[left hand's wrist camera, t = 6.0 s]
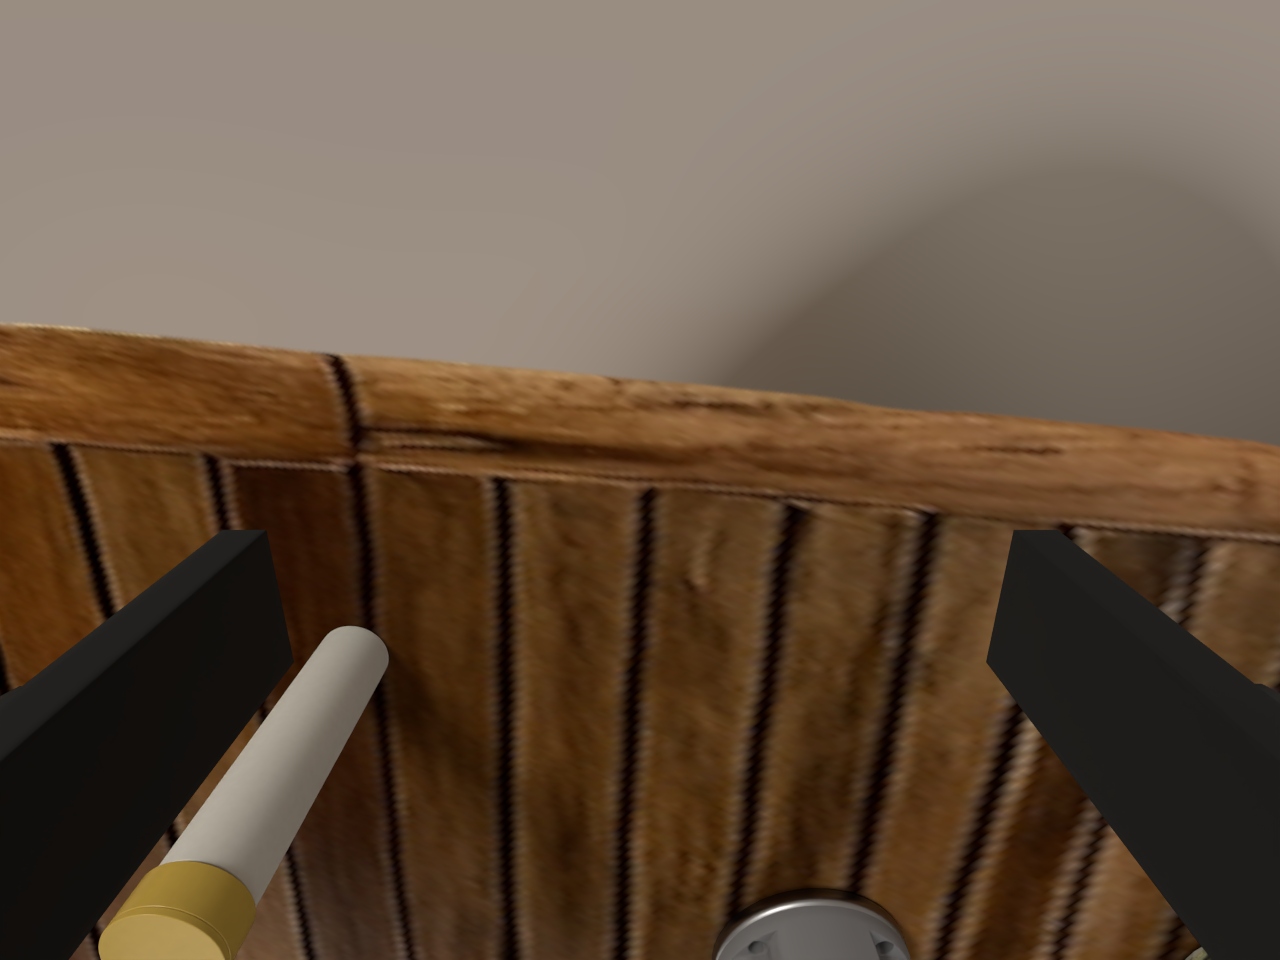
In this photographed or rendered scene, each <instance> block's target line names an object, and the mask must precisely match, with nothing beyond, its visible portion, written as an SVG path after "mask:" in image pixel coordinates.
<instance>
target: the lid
mask: <svg viewBox="0 0 1280 960" xmlns="http://www.w3.org/2000/svg"><path fill="white" fill-rule="evenodd" d="M255 916H256V906H255V902H254V899H253V897H252V895H251V893H250V892H249V890H248V889H247V888H246V886H245V885H244V884H243V883H242V882H241V881H239V880H238V879H237V878H236V877H234V876H233V875H231V874H230V873H228V872H226V871H224V870H222V869H220V868H218V867H215V866H212V865H209V864H205V863H201V862H195V861H175V862H169V863H166V864H162V865H160V866H158V867H156V868H154V869H152V870H151V871H150V872H148V873H147V874H146V875H145V876H144V877H143V879H142V880H141V881H140V883H139V884H138V885H137V887H136V888H135V890H134V891H133V892H132V894H131V895H130V896H129V898H128V899H127V900H126V902H125V903H124V904H123V906H122V907H121V908H120V910H119V911H118V913H117V914H116V915H115V917H114V918H113V919H112V921H111V922H110V924H109V925H108V926H107V927H106V929H105V930H104V932H103V933H102V935H101V938H100V941H99V954H100V958H101V960H234V958H235V956H236V955H237V953H238V951H239V949H240V947H241V945H242V943H243V942H244V940H245V938H246V936H247V934H248V932H249V930H250V929H251V927H252V925H253V923H254V920H255Z"/></svg>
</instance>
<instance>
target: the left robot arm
mask: <svg viewBox="0 0 1280 960" xmlns="http://www.w3.org/2000/svg"><path fill="white" fill-rule="evenodd" d="M293 662H294V661H293V656H292V651H291V646H290V641H289V637H288V632H287V627H286V622H285V618H284V613H283V608H282V603H281V599H280V594H279V589H278V584H277V579H276V575H275V570H274V565H273V560H272V556H271V551H270V546H269V541H268V536H267V532H266V530H222V531H221V532H219V533H218V534H217V535H216V536H214V537H213V538H212V539H210V540H209V541H208V542H207V543H205V544H204V545H203V546H201V547H200V548H199V549H198V550H196V551H195V552H194V553H192V554H191V555H190V556H189V557H187V558H186V559H185V560H183V561H182V562H181V563H180V564H178V565H177V566H176V567H175V568H173V569H172V570H171V571H169V572H168V573H167V574H166V575H164V576H163V577H162V578H160V579H159V580H158V581H157V582H155V583H154V584H153V585H151V586H150V587H149V588H148V589H146V590H145V591H144V592H142V593H141V594H140V595H139V596H137V597H136V598H135V599H134V600H132V601H131V602H130V603H128V604H127V605H126V606H125V607H123V608H122V609H121V610H119V611H118V612H117V613H116V614H114V615H113V616H112V617H110V618H109V619H108V620H107V621H105V622H104V623H103V624H101V625H100V626H99V627H98V628H96V629H95V630H94V631H92V632H91V633H90V634H89V635H87V636H86V637H85V638H84V639H82V640H81V641H80V642H78V643H77V644H76V645H75V646H73V647H72V648H71V649H69V650H68V651H67V652H66V653H64V654H63V655H62V656H60V657H59V658H58V659H57V660H55V661H54V662H53V663H51V664H50V665H49V666H48V667H46V668H45V669H44V670H42V671H41V672H40V673H39V674H37V675H36V676H35V677H34V678H32V679H31V680H30V681H28V682H27V683H26V684H25V685H23V686H19V687H17V688H15V689H13V690H11V691H10V692H8V693H6V694H4V695H2V696H0V960H69V958H70V957H71V956H72V954H73V953H74V952H75V950H76V949H77V948H78V947H79V945H80V944H81V943H82V941H83V940H84V939H85V937H86V936H87V935H88V933H89V932H90V931H91V929H92V928H93V927H94V925H95V924H96V923H97V921H98V920H99V919H100V917H101V916H102V915H103V913H104V912H105V911H106V910H107V908H108V907H109V906H110V904H111V903H112V902H113V900H114V899H115V898H116V896H117V895H118V894H119V892H120V891H121V890H122V888H123V887H124V886H125V884H126V883H127V882H128V880H129V879H130V878H131V876H132V875H133V874H134V873H135V871H136V870H137V869H138V867H139V866H140V865H141V863H142V862H143V861H144V859H145V858H146V857H147V855H148V854H149V853H150V851H151V850H152V849H153V847H154V846H155V845H156V843H157V842H158V841H159V839H160V838H161V837H162V836H163V834H164V833H165V832H166V830H167V829H168V828H169V826H170V825H171V824H172V822H173V821H174V820H175V818H176V817H177V816H178V814H179V813H180V812H181V810H182V809H183V808H184V806H185V805H186V804H187V802H188V801H189V800H190V798H191V797H192V796H193V795H194V793H195V792H196V791H197V789H198V788H199V787H200V785H201V784H202V783H203V781H204V780H205V779H206V777H207V776H208V775H209V773H210V772H211V771H212V769H213V768H214V767H215V765H216V764H217V763H218V761H219V760H220V759H221V758H222V756H223V755H224V754H225V752H226V751H227V750H228V748H229V747H230V746H231V744H232V743H233V742H234V740H235V739H236V738H237V736H238V735H239V734H240V732H241V731H242V730H243V728H244V727H245V726H246V724H247V723H248V722H249V721H250V719H251V718H252V717H253V715H254V714H255V713H256V711H257V710H258V709H259V707H260V706H261V705H262V703H263V702H264V701H265V699H266V698H267V697H268V695H269V694H270V693H271V691H272V690H273V689H274V687H275V686H276V685H277V684H278V682H279V681H280V680H281V678H282V677H283V676H284V674H285V673H286V672H287V670H288V669H289V668H290V666H291V665H292V664H293ZM986 662H987V664H988V665H989V666H990V668H991V669H992V670H993V672H994V673H995V674H996V676H997V677H998V678H999V680H1000V681H1001V682H1002V684H1003V685H1004V686H1005V687H1006V689H1007V690H1008V691H1009V693H1010V694H1011V695H1012V697H1013V698H1014V699H1015V701H1016V702H1017V703H1018V705H1019V706H1020V707H1021V709H1022V710H1023V711H1024V713H1025V714H1026V715H1027V717H1028V718H1029V719H1030V721H1031V722H1032V723H1033V724H1034V726H1035V727H1036V728H1037V730H1038V731H1039V732H1040V734H1041V735H1042V736H1043V738H1044V739H1045V740H1046V742H1047V743H1048V744H1049V746H1050V747H1051V748H1052V750H1053V751H1054V752H1055V754H1056V755H1057V756H1058V758H1059V759H1060V760H1061V761H1062V763H1063V764H1064V765H1065V767H1066V768H1067V769H1068V771H1069V772H1070V773H1071V775H1072V776H1073V777H1074V779H1075V780H1076V781H1077V783H1078V784H1079V785H1080V787H1081V788H1082V789H1083V791H1084V792H1085V793H1086V795H1087V796H1088V797H1089V798H1090V800H1091V801H1092V802H1093V804H1094V805H1095V806H1096V808H1097V809H1098V810H1099V812H1100V813H1101V814H1102V816H1103V817H1104V818H1105V820H1106V821H1107V822H1108V824H1109V825H1110V826H1111V828H1112V829H1113V830H1114V832H1115V833H1116V834H1117V836H1118V837H1119V838H1120V839H1121V841H1122V842H1123V843H1124V845H1125V846H1126V847H1127V849H1128V850H1129V851H1130V853H1131V854H1132V855H1133V857H1134V858H1135V859H1136V861H1137V862H1138V863H1139V865H1140V866H1141V867H1142V869H1143V870H1144V871H1145V873H1146V874H1147V875H1148V876H1149V878H1150V879H1151V880H1152V882H1153V883H1154V884H1155V886H1156V887H1157V888H1158V890H1159V891H1160V892H1161V894H1162V895H1163V896H1164V898H1165V899H1166V900H1167V902H1168V903H1169V904H1170V906H1171V907H1172V908H1173V910H1174V911H1175V912H1176V913H1177V915H1178V916H1179V917H1180V919H1181V920H1182V921H1183V923H1184V924H1185V925H1186V927H1187V928H1188V929H1189V931H1190V932H1191V933H1192V935H1193V936H1194V937H1195V939H1196V940H1197V941H1198V943H1199V944H1200V945H1201V947H1202V948H1203V949H1204V950H1205V952H1206V953H1207V954H1208V956H1209V957H1210V958H1211V960H1280V693H1278V692H1276V691H1274V690H1273V689H1271V688H1269V687H1267V686H1265V685H1263V684H1254V683H1253V682H1252V681H1250V680H1249V679H1248V678H1246V677H1245V676H1244V675H1243V674H1241V673H1240V672H1239V671H1238V670H1236V669H1235V668H1234V667H1232V666H1231V665H1230V664H1229V663H1227V662H1226V661H1225V660H1223V659H1222V658H1221V657H1220V656H1218V655H1217V654H1216V653H1214V652H1213V651H1212V650H1211V649H1209V648H1208V647H1207V646H1205V645H1204V644H1203V643H1202V642H1200V641H1199V640H1198V639H1196V638H1195V637H1194V636H1193V635H1191V634H1190V633H1189V632H1188V631H1186V630H1185V629H1184V628H1182V627H1181V626H1180V625H1179V624H1177V623H1176V622H1175V621H1173V620H1172V619H1171V618H1170V617H1168V616H1167V615H1166V614H1164V613H1163V612H1162V611H1161V610H1159V609H1158V608H1157V607H1155V606H1154V605H1153V604H1152V603H1150V602H1149V601H1148V600H1146V599H1145V598H1144V597H1143V596H1141V595H1140V594H1139V593H1138V592H1136V591H1135V590H1134V589H1132V588H1131V587H1130V586H1129V585H1127V584H1126V583H1125V582H1123V581H1122V580H1121V579H1120V578H1118V577H1117V576H1116V575H1114V574H1113V573H1112V572H1111V571H1109V570H1108V569H1107V568H1105V567H1104V566H1103V565H1102V564H1100V563H1099V562H1098V561H1096V560H1095V559H1094V558H1093V557H1091V556H1090V555H1089V554H1088V553H1086V552H1085V551H1084V550H1082V549H1081V548H1080V547H1079V546H1077V545H1076V544H1075V543H1073V542H1072V541H1071V540H1070V539H1068V538H1067V537H1066V536H1064V535H1063V534H1062V533H1061V532H1059V531H1058V530H1014V532H1013V536H1012V541H1011V546H1010V551H1009V556H1008V560H1007V565H1006V570H1005V575H1004V579H1003V584H1002V589H1001V594H1000V599H999V603H998V608H997V613H996V618H995V622H994V627H993V632H992V637H991V641H990V646H989V651H988V656H987V661H986ZM712 960H910V955H909V952H908V949H907V946H906V943H905V940H904V937H903V935H902V932H901V930H900V928H899V926H898V924H897V923H896V921H895V920H894V919H893V918H892V917H891V915H890V914H888V913H887V912H886V911H885V910H884V909H883V908H881V907H880V906H879V905H877V904H875V903H874V902H872V901H870V900H868V899H866V898H863V897H861V896H858V895H855V894H852V893H848V892H844V891H839V890H831V889H802V890H794V891H789V892H784V893H780V894H777V895H774V896H771V897H768V898H765V899H763V900H760V901H758V902H756V903H754V904H752V905H751V906H749V907H747V908H746V909H744V910H743V911H741V912H740V913H739V914H737V915H736V916H735V917H734V918H733V919H732V920H731V921H730V922H729V923H728V924H727V925H726V926H725V927H724V929H723V930H722V931H721V933H720V935H719V936H718V938H717V940H716V943H715V945H714V949H713V954H712Z"/></svg>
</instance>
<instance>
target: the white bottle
mask: <svg viewBox="0 0 1280 960" xmlns="http://www.w3.org/2000/svg"><path fill="white" fill-rule="evenodd" d="M388 661H389V655H388V651H387V648H386V646H385V644H384V643H383V641H382V640H381V639H380V638H379V637H378V636H377V635H376V634H374V633H373V632H371V631H369V630H367V629H364V628H361V627H356V626H344V627H340V628H337V629H335V630H333V631H331V632H330V633H329V634H327V636H326V637H325V638H324V639H323V641H322V642H321V644H320V645H319V646H318V648H317V649H316V650H315V652H314V653H313V655H312V656H311V657H310V659H309V660H308V661H307V663H306V664H305V666H304V667H303V668H302V670H301V671H300V672H299V674H298V675H297V677H296V678H295V679H294V681H293V682H292V683H291V685H290V686H289V688H288V689H287V690H286V692H285V693H284V694H283V696H282V697H281V699H280V700H279V701H278V703H277V704H276V705H275V707H274V708H273V710H272V711H271V712H270V714H269V715H268V716H267V718H266V719H265V721H264V722H263V723H262V725H261V726H260V727H259V729H258V730H257V732H256V733H255V734H254V736H253V737H252V738H251V740H250V741H249V743H248V744H247V745H246V747H245V748H244V749H243V751H242V752H241V754H240V755H239V756H238V758H237V759H236V760H235V762H234V763H233V765H232V766H231V767H230V769H229V770H228V771H227V773H226V774H225V776H224V777H223V778H222V780H221V781H220V782H219V784H218V785H217V787H216V788H215V789H214V791H213V792H212V793H211V795H210V796H209V798H208V799H207V800H206V802H205V803H204V804H203V806H202V807H201V808H200V810H199V811H198V813H197V814H196V815H195V817H194V818H193V819H192V821H191V822H190V824H189V825H188V826H187V828H186V829H185V830H184V832H183V833H182V835H181V836H180V837H179V839H178V840H177V841H176V843H175V844H174V846H173V847H172V848H171V850H170V851H169V852H168V854H167V855H166V857H165V858H164V859H163V861H162V862H161V863H160V865H162V864H166V863H169V862H175V861H195V862H201V863H205V864H209V865H212V866H215V867H218V868H220V869H222V870H224V871H226V872H228V873H230V874H231V875H233V876H234V877H236V878H237V879H238V880H239V881H241V882H242V883H243V884H244V885H245V886H246V888H247V889H248V890H249V892H250V893H251V895H252V897H253V899H254V902H255V906H257V904H258V903H259V901H260V899H261V897H262V895H263V893H264V892H265V890H266V888H267V886H268V884H269V883H270V881H271V879H272V877H273V875H274V873H275V872H276V870H277V868H278V866H279V864H280V862H281V861H282V859H283V857H284V855H285V853H286V851H287V850H288V848H289V846H290V844H291V842H292V840H293V839H294V837H295V835H296V833H297V831H298V829H299V828H300V826H301V824H302V822H303V820H304V818H305V817H306V815H307V813H308V811H309V809H310V807H311V806H312V804H313V802H314V800H315V798H316V796H317V795H318V793H319V791H320V789H321V787H322V786H323V784H324V782H325V780H326V778H327V776H328V775H329V773H330V771H331V769H332V767H333V765H334V764H335V762H336V760H337V758H338V756H339V754H340V753H341V751H342V749H343V747H344V745H345V743H346V742H347V740H348V738H349V736H350V734H351V732H352V731H353V729H354V727H355V725H356V723H357V721H358V720H359V718H360V716H361V714H362V712H363V710H364V709H365V707H366V705H367V703H368V701H369V699H370V698H371V696H372V694H373V692H374V690H375V689H376V687H377V685H378V683H379V681H380V679H381V678H382V676H383V674H384V672H385V670H386V668H387V666H388ZM160 865H159V866H160Z"/></svg>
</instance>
